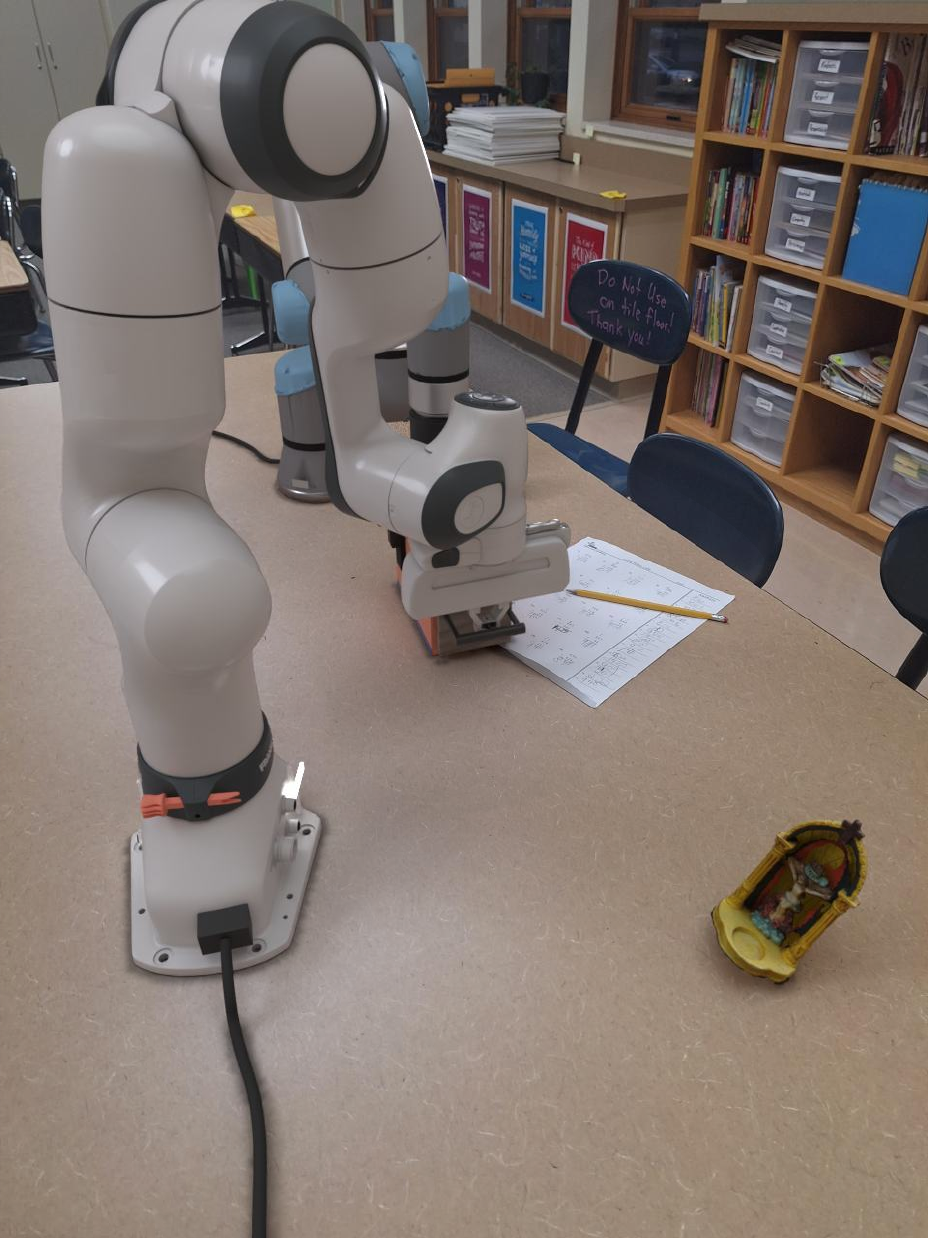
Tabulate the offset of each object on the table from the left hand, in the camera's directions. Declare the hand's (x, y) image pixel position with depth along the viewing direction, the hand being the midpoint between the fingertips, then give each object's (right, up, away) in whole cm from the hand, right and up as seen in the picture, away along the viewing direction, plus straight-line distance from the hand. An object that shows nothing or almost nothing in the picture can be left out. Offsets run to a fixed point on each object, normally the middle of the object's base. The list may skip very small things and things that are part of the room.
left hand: (486, 630), depth 105 cm
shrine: (+24, -28, -29) cm, 47 cm away
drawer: (-3, 0, +10) cm, 10 cm away
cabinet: (-5, +2, +14) cm, 15 cm away
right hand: (-6, +10, +14) cm, 18 cm away
